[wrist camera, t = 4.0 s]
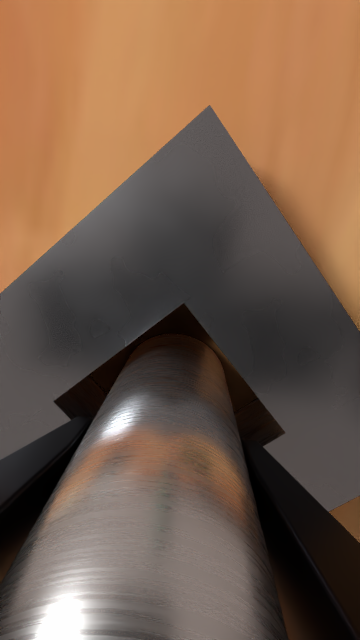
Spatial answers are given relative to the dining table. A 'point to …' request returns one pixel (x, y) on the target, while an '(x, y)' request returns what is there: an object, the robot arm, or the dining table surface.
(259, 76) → the dining table surface
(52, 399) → the socket block
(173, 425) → the steel peg
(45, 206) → the dining table surface
